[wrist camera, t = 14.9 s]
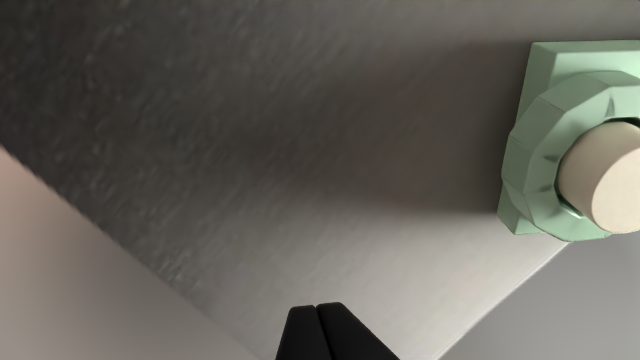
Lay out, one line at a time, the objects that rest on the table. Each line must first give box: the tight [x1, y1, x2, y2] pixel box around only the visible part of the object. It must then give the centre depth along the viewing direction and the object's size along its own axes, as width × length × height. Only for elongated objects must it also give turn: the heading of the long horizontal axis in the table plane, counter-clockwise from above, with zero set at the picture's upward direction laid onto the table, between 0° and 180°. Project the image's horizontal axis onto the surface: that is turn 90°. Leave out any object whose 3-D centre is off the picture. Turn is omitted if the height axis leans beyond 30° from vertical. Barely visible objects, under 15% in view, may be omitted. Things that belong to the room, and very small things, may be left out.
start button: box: [557, 122, 640, 234], centre depth 18 cm, size 4×4×2 cm
